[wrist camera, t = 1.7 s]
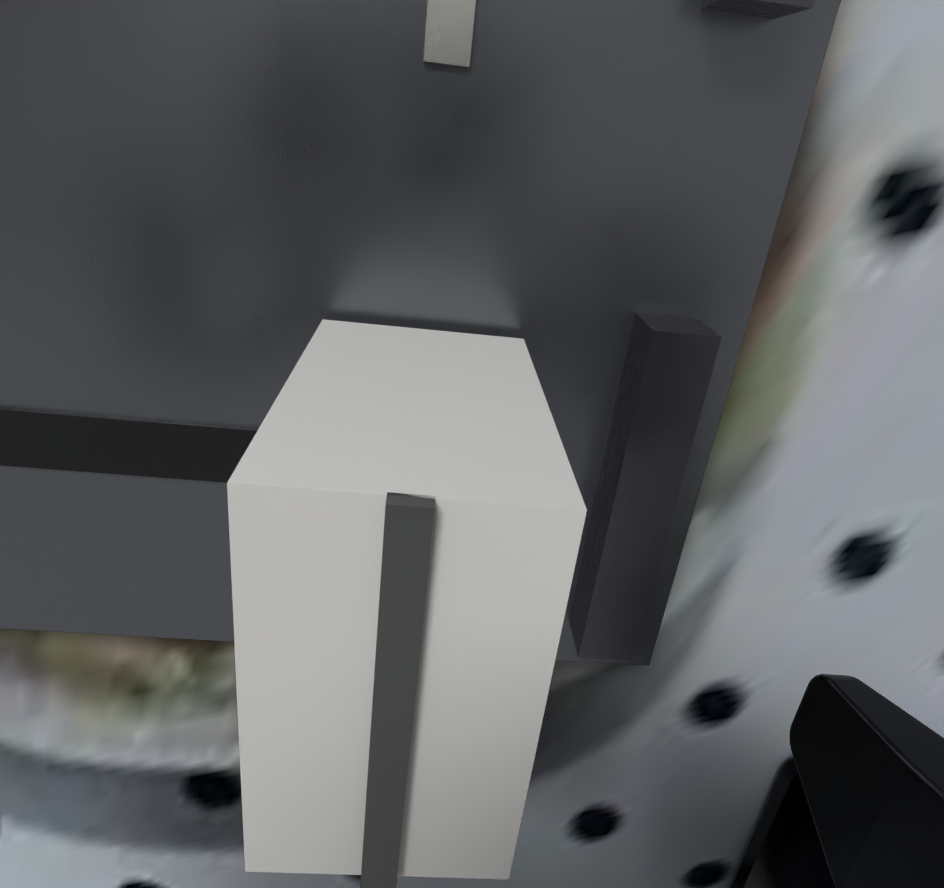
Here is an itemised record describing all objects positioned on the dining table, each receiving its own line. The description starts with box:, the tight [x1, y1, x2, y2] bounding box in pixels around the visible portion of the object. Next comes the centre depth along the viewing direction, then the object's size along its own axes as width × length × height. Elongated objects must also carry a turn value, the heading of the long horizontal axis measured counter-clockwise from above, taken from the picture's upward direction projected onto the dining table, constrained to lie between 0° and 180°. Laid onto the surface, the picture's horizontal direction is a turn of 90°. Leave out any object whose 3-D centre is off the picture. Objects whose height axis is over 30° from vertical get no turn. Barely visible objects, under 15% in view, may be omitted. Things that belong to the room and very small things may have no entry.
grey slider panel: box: [0, 0, 841, 665], centre depth 9 cm, size 18×18×2 cm
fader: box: [227, 319, 587, 888], centre depth 9 cm, size 5×3×5 cm, turn 174°
